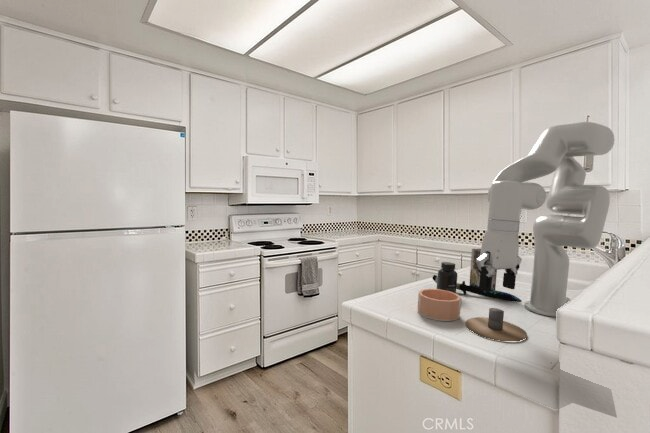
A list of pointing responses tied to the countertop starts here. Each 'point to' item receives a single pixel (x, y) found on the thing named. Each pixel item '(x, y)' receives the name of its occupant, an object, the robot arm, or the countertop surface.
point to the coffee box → (475, 273)
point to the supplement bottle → (447, 277)
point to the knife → (484, 292)
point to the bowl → (439, 304)
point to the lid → (496, 327)
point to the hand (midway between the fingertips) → (496, 289)
